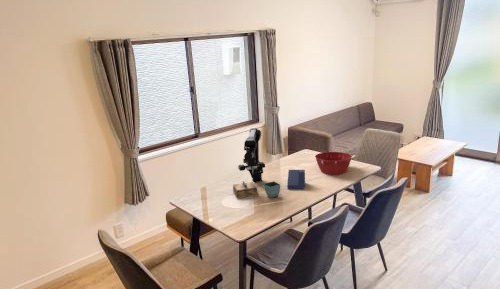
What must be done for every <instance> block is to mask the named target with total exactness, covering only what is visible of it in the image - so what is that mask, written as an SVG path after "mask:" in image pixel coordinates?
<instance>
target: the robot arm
mask: <svg viewBox="0 0 500 289" xmlns="http://www.w3.org/2000/svg"><path fill="white" fill-rule="evenodd" d="M261 137H262V131H261V129H258V128H257V127H255V128H250V129H249V136H248V137H246V139H245V141H244V143H243V145H244V146H243V151H246V152H245V154H244V156H243V159H242V161H243V162H242V163H243V164H239V165H238V166H237V167H238V168H237V169H238V170H239V171H240V172H241V171H242V172H243V171H245V170H246V171H248V172H249V175H250V177H251V179H252V182H253V183H259V182H263V178H262V177H263V176H262V174H264V168H266V163H264V162H263V161H260V140H261ZM244 164H245V165H244Z"/></svg>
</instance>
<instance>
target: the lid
mask: <svg viewBox="0 0 500 289" xmlns="http://www.w3.org/2000/svg"><path fill="white" fill-rule="evenodd" d="M233 186H234V187H235V189H236V191H245V190H249V189H256V188H257V189H258V187H257V186H256V184H255V182H254V181H250V182H249V181H248V182H245V181H242V183H241V182H240V183H236V184H233V185H232V187H233Z"/></svg>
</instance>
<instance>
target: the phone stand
mask: <svg viewBox="0 0 500 289" xmlns="http://www.w3.org/2000/svg"><path fill="white" fill-rule="evenodd" d="M287 173H288V174H287V184H286V186H287V188H286V189H287V190H305V186H306V170H305V169H288V172H287Z"/></svg>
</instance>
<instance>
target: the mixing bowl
mask: <svg viewBox="0 0 500 289" xmlns="http://www.w3.org/2000/svg"><path fill="white" fill-rule="evenodd" d="M314 157H315V160H316V163H317V164H316V165H317V166H318V168H319V170H320V172H321V173H322V174H324V175H327V174H328V175H327V176H340V174H341V175H343V173H344V174H345V173H346V172H347V170H348V169H349V166H350V164H351V160H352V157H353V156H352V155H351V154H350V153H346V152H341V151H326V152H321V153H317V154H316V155H315V156H314Z"/></svg>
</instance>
